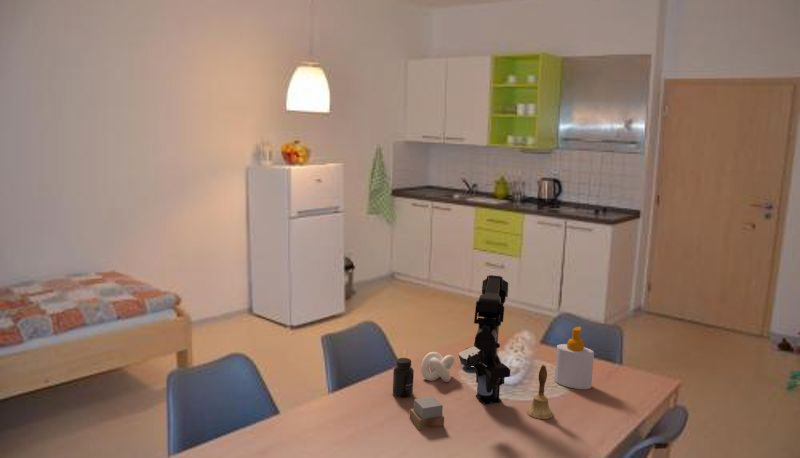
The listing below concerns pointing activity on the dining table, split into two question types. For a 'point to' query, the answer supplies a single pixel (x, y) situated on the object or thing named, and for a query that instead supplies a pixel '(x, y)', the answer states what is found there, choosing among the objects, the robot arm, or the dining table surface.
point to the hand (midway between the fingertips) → (484, 389)
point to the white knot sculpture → (436, 366)
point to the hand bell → (540, 399)
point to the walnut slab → (426, 421)
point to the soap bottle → (574, 363)
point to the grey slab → (428, 407)
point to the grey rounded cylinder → (482, 386)
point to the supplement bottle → (403, 378)
